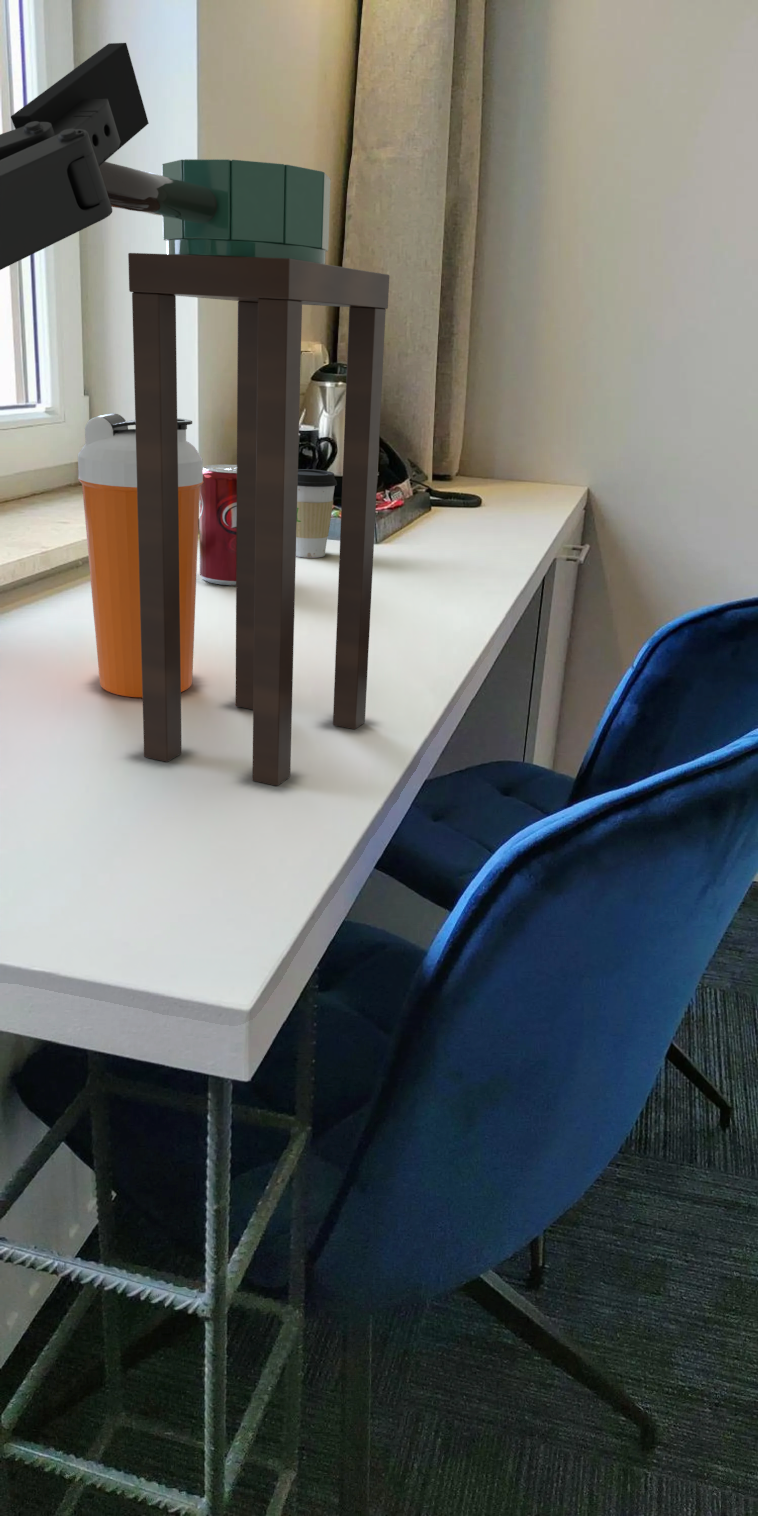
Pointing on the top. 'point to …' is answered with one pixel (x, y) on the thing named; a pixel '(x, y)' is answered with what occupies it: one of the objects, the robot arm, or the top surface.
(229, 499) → the soda can
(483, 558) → the top surface
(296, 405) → the tall wooden stool
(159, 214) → the green faceted container
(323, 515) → the coffee cup
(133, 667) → the shaker bottle
